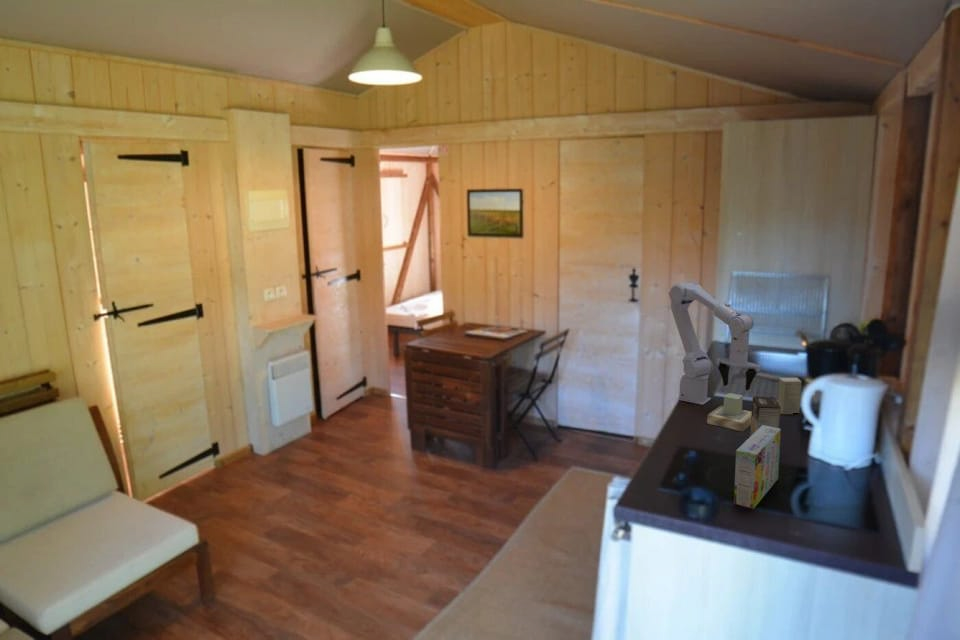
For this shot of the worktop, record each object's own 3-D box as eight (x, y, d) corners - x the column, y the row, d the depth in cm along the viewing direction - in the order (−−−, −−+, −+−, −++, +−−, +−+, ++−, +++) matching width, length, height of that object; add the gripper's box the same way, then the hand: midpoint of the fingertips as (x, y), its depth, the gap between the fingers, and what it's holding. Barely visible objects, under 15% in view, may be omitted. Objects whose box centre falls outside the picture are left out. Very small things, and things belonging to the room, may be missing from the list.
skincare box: (794, 410, 232) (797, 377, 230) (799, 414, 228) (802, 381, 225) (776, 409, 233) (778, 377, 230) (780, 414, 229) (783, 380, 226)
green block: (723, 413, 222) (724, 396, 221) (728, 409, 225) (729, 392, 224) (736, 416, 219) (737, 399, 218) (741, 412, 222) (742, 395, 221)
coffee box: (748, 444, 204) (752, 395, 201) (770, 446, 203) (774, 396, 199) (754, 457, 195) (758, 405, 192) (777, 458, 194) (781, 407, 191)
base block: (707, 423, 222) (707, 414, 221) (720, 413, 231) (721, 404, 230) (743, 431, 214) (743, 422, 214) (755, 420, 223) (756, 412, 222)
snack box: (757, 474, 184) (761, 423, 181) (778, 479, 181) (783, 428, 178) (731, 504, 168) (735, 449, 165) (754, 510, 165) (758, 454, 162)
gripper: (713, 348, 228) (711, 386, 231) (756, 355, 219) (753, 394, 222) (721, 344, 233) (719, 381, 236) (764, 351, 224) (760, 389, 227)
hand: (736, 387), depth 229 cm, fingers open, 7 cm apart
